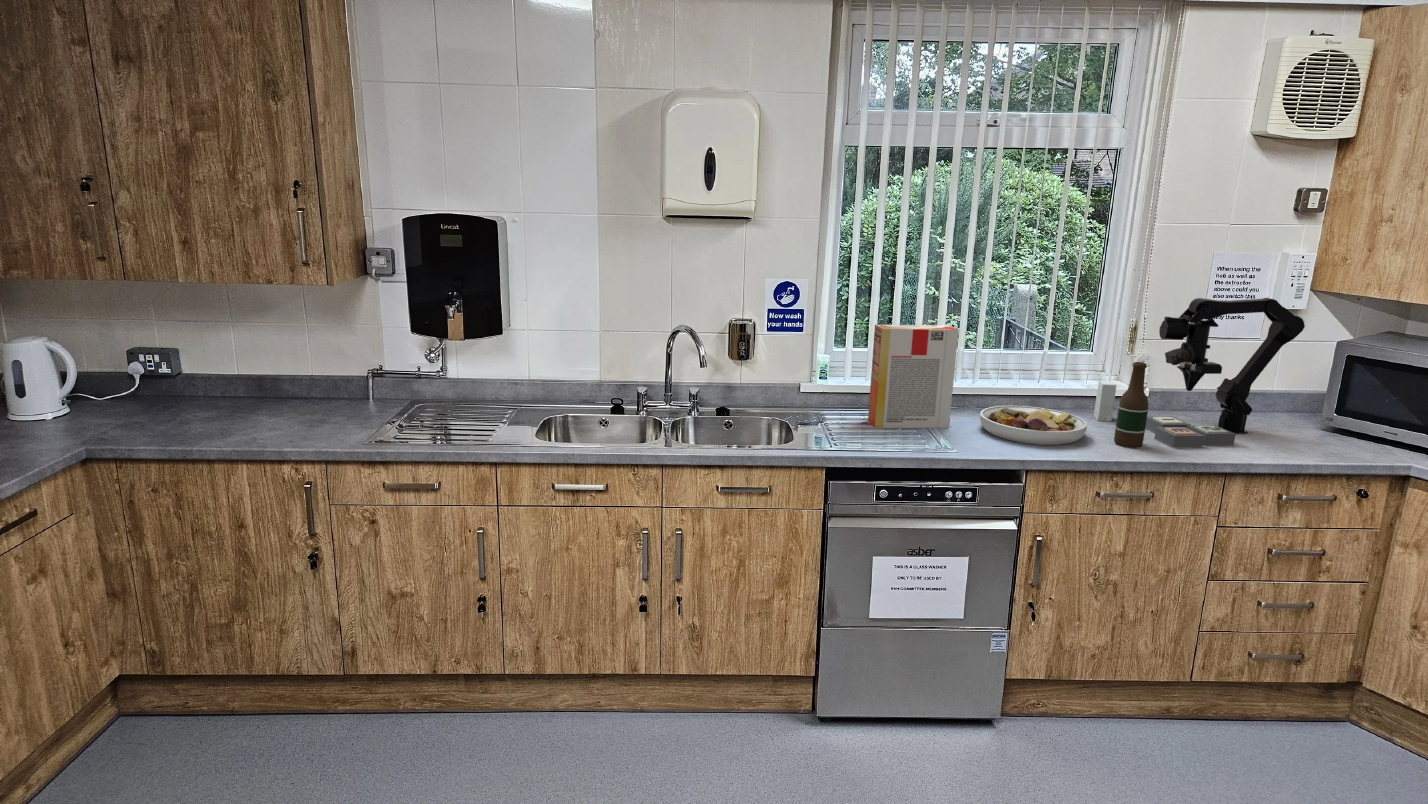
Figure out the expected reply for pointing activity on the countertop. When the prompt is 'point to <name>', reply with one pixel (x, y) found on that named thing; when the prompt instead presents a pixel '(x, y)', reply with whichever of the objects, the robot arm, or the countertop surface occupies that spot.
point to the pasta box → (912, 376)
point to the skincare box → (1105, 400)
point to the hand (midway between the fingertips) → (1188, 390)
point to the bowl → (1033, 425)
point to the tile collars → (1188, 440)
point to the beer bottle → (1132, 411)
